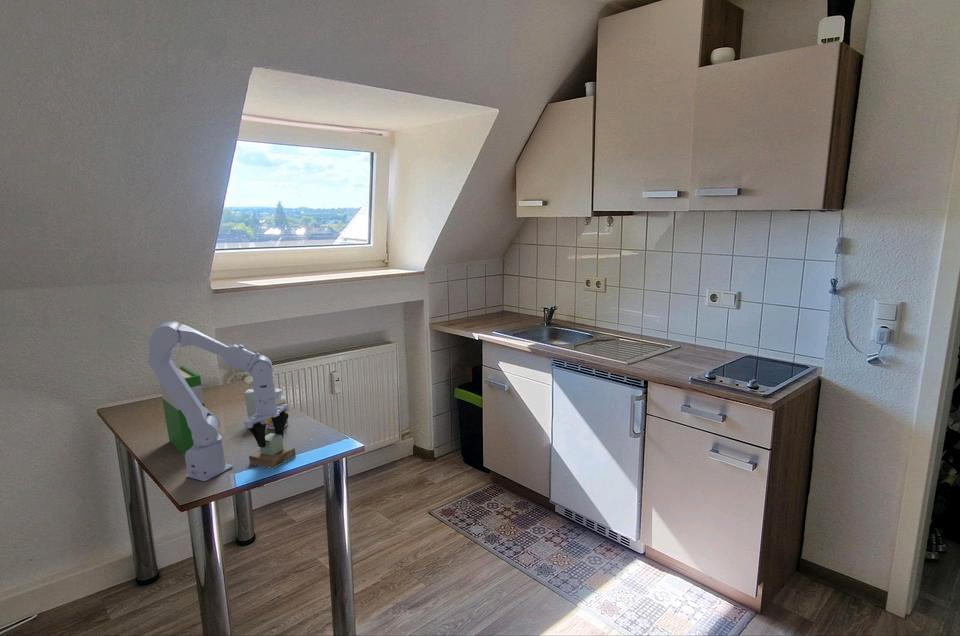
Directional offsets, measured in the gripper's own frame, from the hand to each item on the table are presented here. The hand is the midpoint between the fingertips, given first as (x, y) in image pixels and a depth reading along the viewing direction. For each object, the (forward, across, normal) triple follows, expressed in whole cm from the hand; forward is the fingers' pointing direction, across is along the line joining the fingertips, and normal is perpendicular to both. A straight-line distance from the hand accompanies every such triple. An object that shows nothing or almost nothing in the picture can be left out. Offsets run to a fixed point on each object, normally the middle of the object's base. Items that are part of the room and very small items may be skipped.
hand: (270, 442), depth 161 cm
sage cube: (+3, 0, 0) cm, 3 cm away
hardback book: (+6, -2, +34) cm, 35 cm away
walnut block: (+6, 0, 0) cm, 6 cm away
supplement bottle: (+6, +20, +19) cm, 28 cm away
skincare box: (+6, +20, +28) cm, 35 cm away
